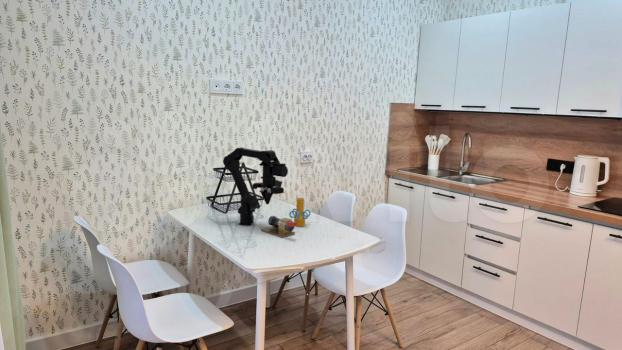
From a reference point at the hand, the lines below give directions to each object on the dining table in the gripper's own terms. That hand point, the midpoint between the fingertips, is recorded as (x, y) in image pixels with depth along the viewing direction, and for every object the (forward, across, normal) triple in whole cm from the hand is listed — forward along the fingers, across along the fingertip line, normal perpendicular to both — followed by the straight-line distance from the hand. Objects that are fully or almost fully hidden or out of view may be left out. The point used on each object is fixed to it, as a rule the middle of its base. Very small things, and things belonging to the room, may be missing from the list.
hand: (267, 204), depth 227 cm
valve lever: (+7, -13, +3) cm, 15 cm away
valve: (+13, -9, +1) cm, 16 cm away
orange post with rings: (+13, -7, -17) cm, 23 cm away
